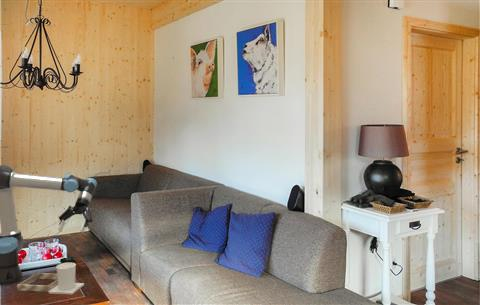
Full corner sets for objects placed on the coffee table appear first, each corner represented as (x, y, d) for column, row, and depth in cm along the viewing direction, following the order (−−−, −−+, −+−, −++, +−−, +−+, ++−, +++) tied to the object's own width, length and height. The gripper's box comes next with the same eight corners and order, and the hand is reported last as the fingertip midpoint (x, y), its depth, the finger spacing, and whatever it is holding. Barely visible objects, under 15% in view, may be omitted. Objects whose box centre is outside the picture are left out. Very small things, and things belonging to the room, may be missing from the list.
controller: (71, 275, 243) (71, 259, 242) (59, 271, 250) (58, 255, 249) (78, 273, 247) (77, 257, 246) (65, 269, 253) (65, 253, 253)
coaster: (48, 293, 218) (48, 291, 218) (61, 283, 230) (61, 282, 230) (72, 294, 216) (72, 292, 216) (84, 284, 229) (84, 283, 229)
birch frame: (17, 290, 222) (17, 284, 221) (37, 277, 239) (37, 272, 239) (49, 291, 220) (48, 286, 219) (66, 279, 238) (66, 274, 237)
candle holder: (69, 291, 218) (68, 269, 217) (52, 290, 220) (52, 268, 219) (80, 284, 227) (79, 263, 226) (64, 283, 229) (63, 261, 228)
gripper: (104, 205, 254) (93, 235, 240) (66, 203, 257) (53, 233, 243) (100, 198, 248) (88, 228, 234) (61, 196, 251) (47, 226, 238)
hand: (70, 231), depth 239 cm, fingers open, 13 cm apart
